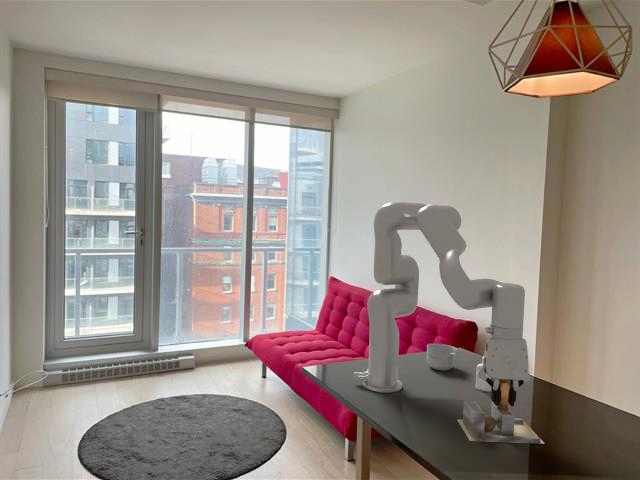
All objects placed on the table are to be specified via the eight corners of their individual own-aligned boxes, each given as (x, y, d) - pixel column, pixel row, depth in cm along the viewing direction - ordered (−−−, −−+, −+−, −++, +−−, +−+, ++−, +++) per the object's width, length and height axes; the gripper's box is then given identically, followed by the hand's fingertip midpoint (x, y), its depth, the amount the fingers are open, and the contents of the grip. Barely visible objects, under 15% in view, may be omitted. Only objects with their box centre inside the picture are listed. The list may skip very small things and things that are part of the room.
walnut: (483, 435, 121) (481, 419, 120) (478, 427, 125) (476, 413, 124) (499, 432, 121) (497, 417, 120) (493, 425, 125) (491, 410, 124)
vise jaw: (501, 436, 119) (504, 382, 118) (490, 422, 127) (493, 372, 126) (513, 437, 119) (516, 383, 118) (502, 423, 127) (504, 372, 126)
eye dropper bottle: (486, 393, 152) (488, 356, 151) (473, 387, 157) (474, 351, 156) (496, 391, 154) (498, 354, 153) (482, 385, 159) (484, 350, 158)
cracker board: (469, 446, 117) (471, 416, 116) (456, 424, 129) (458, 397, 128) (544, 449, 116) (546, 419, 116) (524, 427, 128) (525, 399, 128)
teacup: (421, 363, 180) (422, 342, 180) (448, 362, 182) (449, 342, 182) (437, 376, 167) (438, 353, 166) (466, 375, 169) (467, 353, 168)
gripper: (478, 335, 117) (475, 408, 119) (546, 337, 117) (542, 411, 118) (469, 328, 125) (466, 397, 126) (533, 330, 125) (529, 399, 126)
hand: (503, 403), depth 122 cm, fingers closed on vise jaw, 3 cm apart
